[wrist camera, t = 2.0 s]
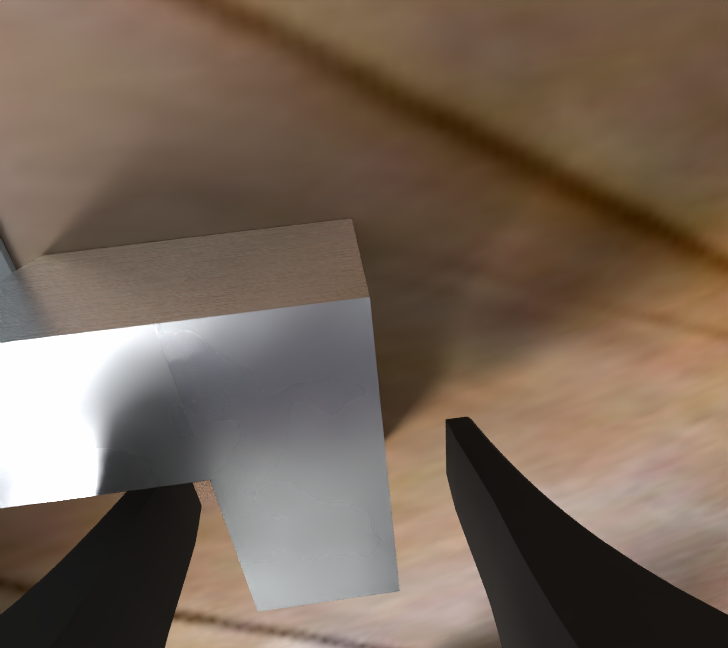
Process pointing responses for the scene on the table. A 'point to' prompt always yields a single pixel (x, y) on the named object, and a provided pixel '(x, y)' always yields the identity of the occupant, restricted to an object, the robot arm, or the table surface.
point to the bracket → (210, 395)
